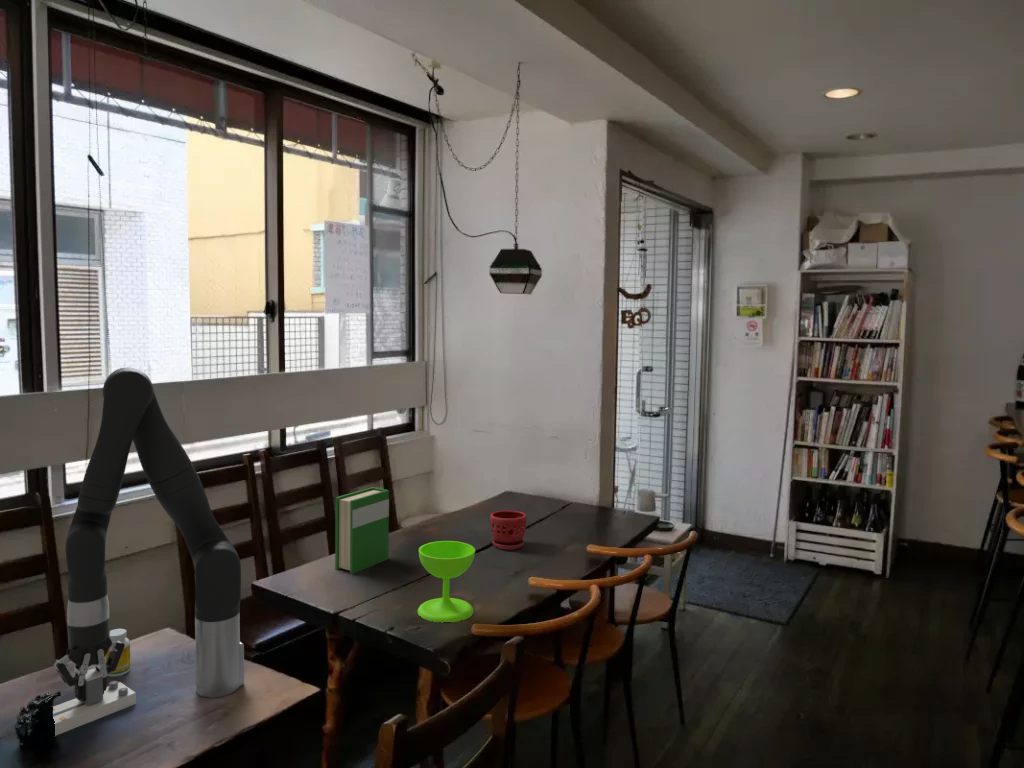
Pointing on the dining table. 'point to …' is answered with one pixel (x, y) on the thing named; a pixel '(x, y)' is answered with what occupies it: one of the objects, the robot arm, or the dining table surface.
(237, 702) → the dining table surface
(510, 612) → the dining table surface
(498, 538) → the plant pot
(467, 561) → the wineglass
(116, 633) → the supplement bottle
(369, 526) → the hardback book
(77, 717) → the console
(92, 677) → the fader tab
